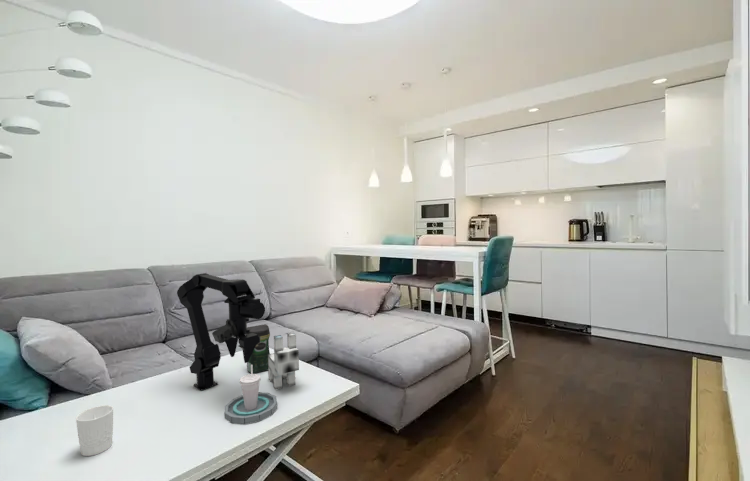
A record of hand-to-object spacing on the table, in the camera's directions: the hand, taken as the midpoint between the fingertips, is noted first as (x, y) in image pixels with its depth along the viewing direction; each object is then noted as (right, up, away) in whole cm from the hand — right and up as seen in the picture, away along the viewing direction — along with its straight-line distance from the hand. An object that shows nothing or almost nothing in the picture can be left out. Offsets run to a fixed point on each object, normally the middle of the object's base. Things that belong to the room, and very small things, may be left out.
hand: (239, 359), depth 123 cm
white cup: (-28, -15, -28) cm, 42 cm away
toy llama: (+13, -13, +10) cm, 20 cm away
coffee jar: (-1, -12, +23) cm, 26 cm away
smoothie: (+7, -13, -9) cm, 17 cm away
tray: (+8, -13, -9) cm, 18 cm away
